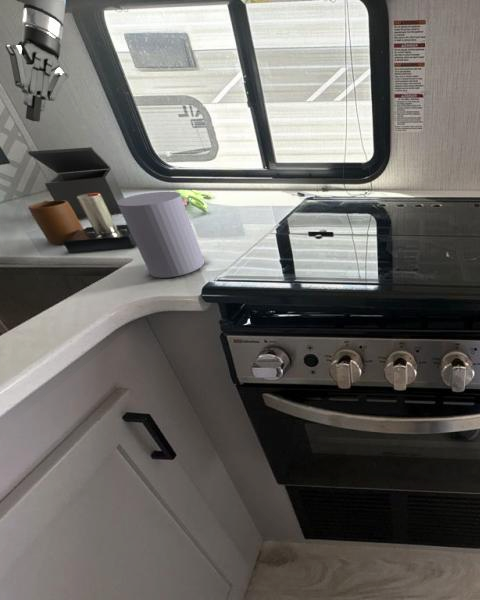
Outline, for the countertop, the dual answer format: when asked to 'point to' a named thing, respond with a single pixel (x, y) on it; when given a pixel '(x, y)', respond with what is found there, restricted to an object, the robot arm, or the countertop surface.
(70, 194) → the dark grey box
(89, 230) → the panel
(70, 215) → the mug
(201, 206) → the figurine
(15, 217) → the countertop surface
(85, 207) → the cream silver cylinder
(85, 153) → the lid
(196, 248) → the container
